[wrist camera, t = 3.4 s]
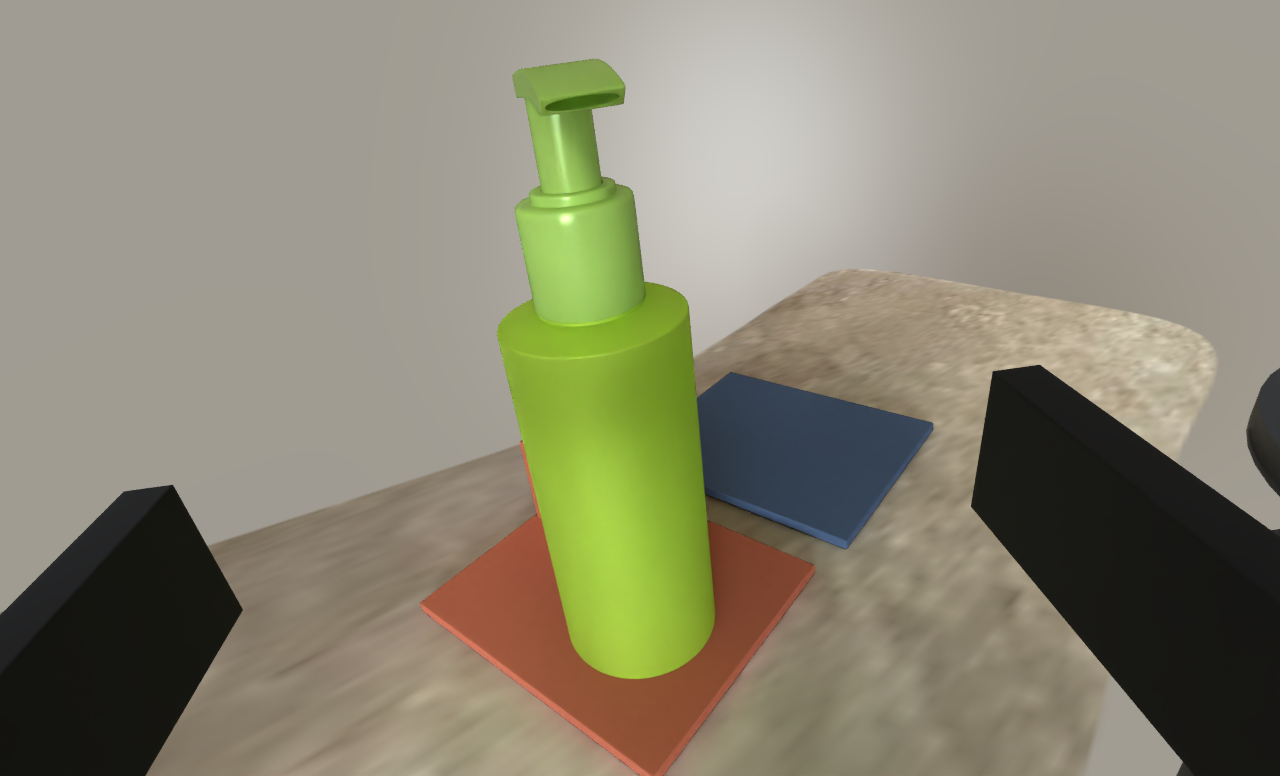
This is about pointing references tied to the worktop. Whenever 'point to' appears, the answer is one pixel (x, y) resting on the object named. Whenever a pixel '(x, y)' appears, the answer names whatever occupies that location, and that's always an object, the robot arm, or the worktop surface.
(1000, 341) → the worktop surface
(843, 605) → the worktop surface
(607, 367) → the soap dispenser
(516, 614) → the terracotta mat
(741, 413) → the slate mat
